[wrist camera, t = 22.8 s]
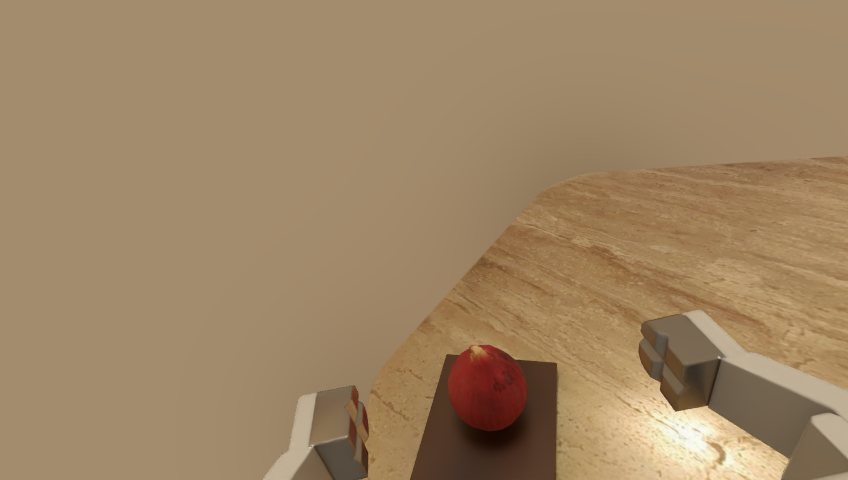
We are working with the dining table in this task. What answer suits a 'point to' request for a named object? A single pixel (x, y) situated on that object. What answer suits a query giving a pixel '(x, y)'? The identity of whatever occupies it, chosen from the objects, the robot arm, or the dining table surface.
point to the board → (492, 435)
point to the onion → (487, 388)
